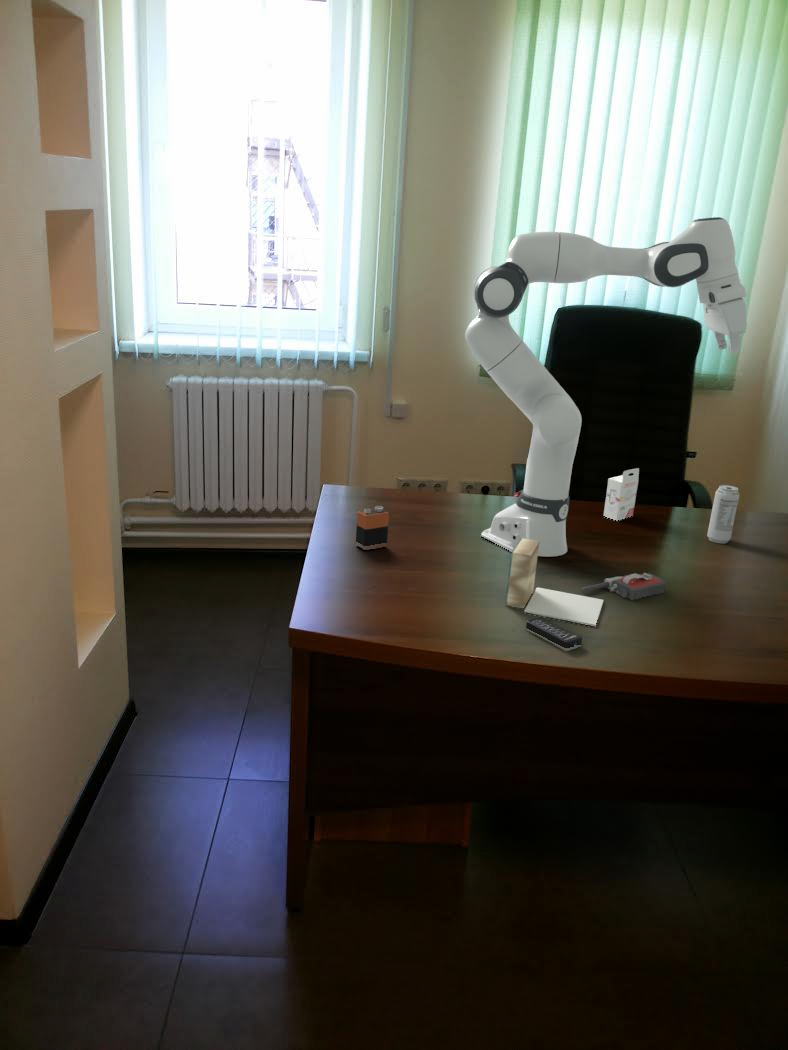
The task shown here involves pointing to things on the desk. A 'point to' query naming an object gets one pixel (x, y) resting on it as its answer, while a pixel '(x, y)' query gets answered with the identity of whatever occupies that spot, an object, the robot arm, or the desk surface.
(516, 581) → the beige rectangular block
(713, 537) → the energy drink can
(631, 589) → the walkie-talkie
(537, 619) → the multiport hub
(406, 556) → the desk surface
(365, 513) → the battery
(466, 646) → the desk surface
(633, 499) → the ink cartridge box
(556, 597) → the mat
